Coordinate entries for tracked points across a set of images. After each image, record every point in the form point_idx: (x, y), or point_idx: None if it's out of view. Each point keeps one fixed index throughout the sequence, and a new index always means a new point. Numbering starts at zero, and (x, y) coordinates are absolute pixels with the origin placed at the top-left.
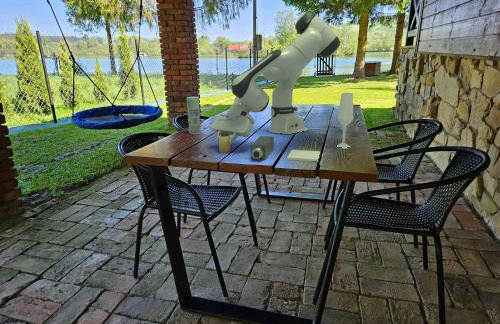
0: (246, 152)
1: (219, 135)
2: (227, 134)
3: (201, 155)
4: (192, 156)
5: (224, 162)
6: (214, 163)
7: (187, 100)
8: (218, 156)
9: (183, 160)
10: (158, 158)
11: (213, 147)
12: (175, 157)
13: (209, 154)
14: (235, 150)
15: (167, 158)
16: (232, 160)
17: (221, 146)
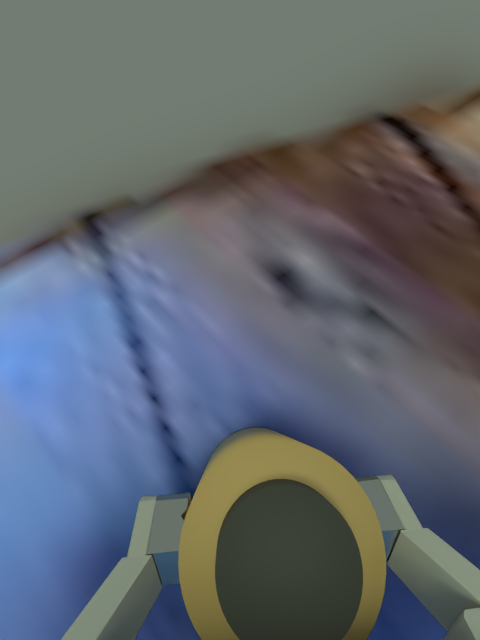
0: (52, 606)
1: (361, 504)
2: (216, 583)
3: (323, 279)
4: (351, 230)
5: (63, 254)
6: (110, 206)
7: None
8: (198, 333)
9: (319, 149)
10: (464, 104)
11: (461, 532)
12: (412, 161)
13: (297, 332)
14: None
15: (427, 128)
16: (36, 319)
17: (253, 432)
